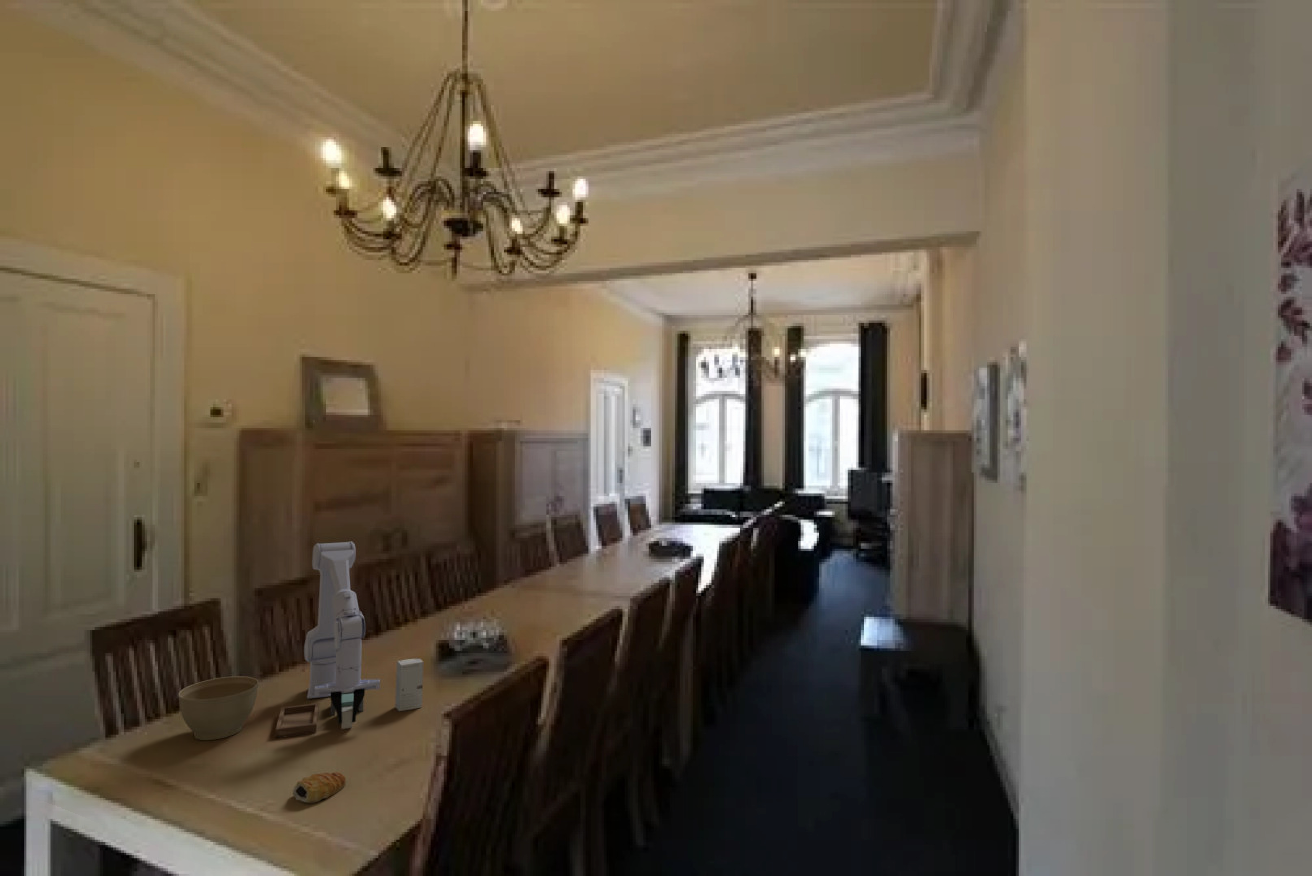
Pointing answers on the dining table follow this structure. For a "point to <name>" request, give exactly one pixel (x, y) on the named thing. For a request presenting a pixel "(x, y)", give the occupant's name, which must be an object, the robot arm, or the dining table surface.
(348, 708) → the stacked two-tone block
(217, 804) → the dining table surface
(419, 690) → the skincare box
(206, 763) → the dining table surface
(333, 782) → the pastry
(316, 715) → the tray
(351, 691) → the bay
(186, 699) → the planter bowl
